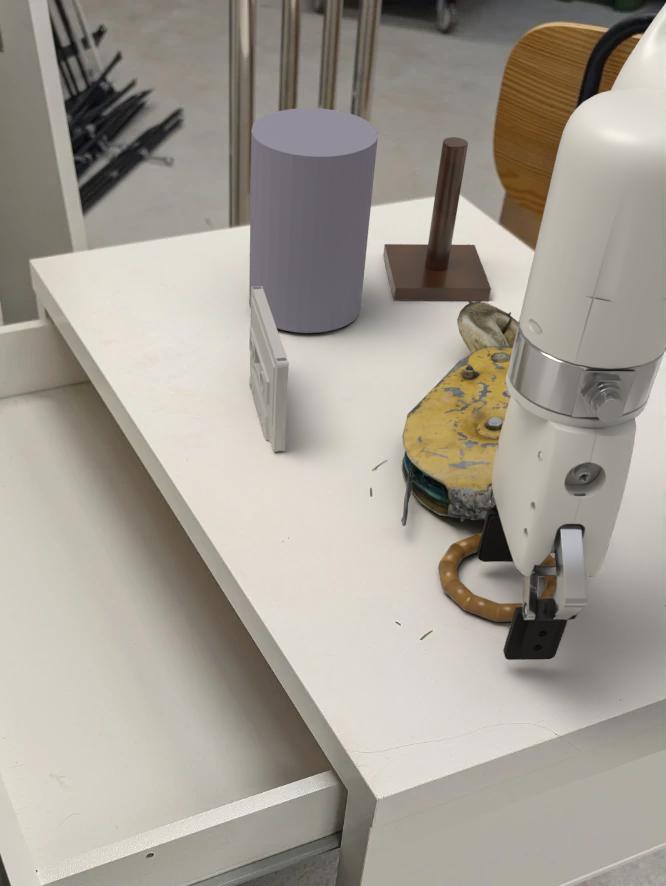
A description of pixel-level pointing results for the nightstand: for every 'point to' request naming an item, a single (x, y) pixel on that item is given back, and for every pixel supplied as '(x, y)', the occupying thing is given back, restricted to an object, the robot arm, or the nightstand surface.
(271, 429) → the cassette
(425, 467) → the pulley block
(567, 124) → the robot arm
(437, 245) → the peg stand
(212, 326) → the nightstand surface
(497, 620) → the ring
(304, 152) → the container
